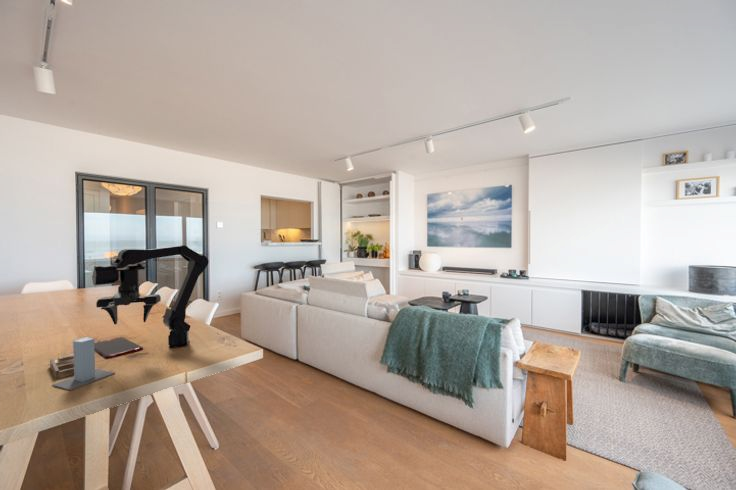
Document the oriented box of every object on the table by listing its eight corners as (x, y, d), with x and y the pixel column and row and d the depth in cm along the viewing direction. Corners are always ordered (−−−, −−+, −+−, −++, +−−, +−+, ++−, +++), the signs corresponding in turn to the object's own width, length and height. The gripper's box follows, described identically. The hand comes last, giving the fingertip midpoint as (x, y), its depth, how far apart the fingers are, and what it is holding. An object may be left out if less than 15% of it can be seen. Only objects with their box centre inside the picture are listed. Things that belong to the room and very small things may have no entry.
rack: (76, 360, 114) (76, 353, 114) (84, 371, 105) (83, 364, 105) (50, 366, 109) (50, 359, 109) (55, 378, 100) (55, 371, 100)
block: (87, 375, 101) (86, 337, 101) (95, 376, 100) (94, 338, 100) (74, 379, 98) (73, 340, 98) (82, 381, 97) (81, 342, 96)
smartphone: (122, 336, 140) (144, 346, 126) (122, 339, 140) (144, 350, 126) (87, 343, 130) (106, 356, 116) (87, 347, 130) (106, 360, 116)
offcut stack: (77, 361, 114) (76, 352, 114) (79, 364, 111) (78, 354, 111) (54, 366, 109) (53, 357, 109) (55, 369, 107) (55, 360, 107)
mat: (97, 369, 106) (97, 368, 106) (114, 373, 103) (114, 372, 103) (52, 385, 95) (52, 384, 95) (70, 390, 92) (70, 389, 92)
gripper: (87, 286, 106) (88, 331, 107) (150, 284, 112) (151, 326, 113) (103, 282, 117) (104, 323, 117) (160, 279, 123) (161, 318, 123)
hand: (130, 323), depth 117 cm, fingers open, 9 cm apart
